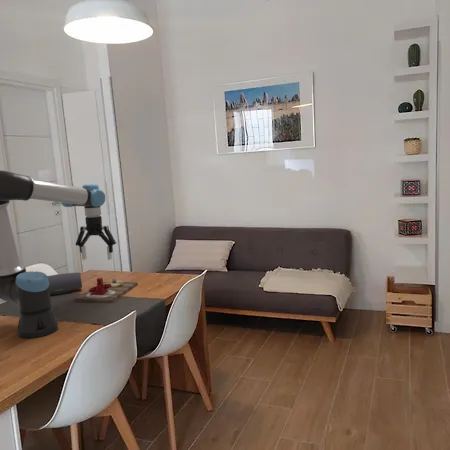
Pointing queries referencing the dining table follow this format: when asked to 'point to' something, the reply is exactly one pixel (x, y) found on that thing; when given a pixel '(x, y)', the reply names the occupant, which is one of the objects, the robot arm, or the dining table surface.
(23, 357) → the dining table surface
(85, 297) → the gear board
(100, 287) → the red branched block
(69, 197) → the robot arm
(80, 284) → the bluetooth speaker
